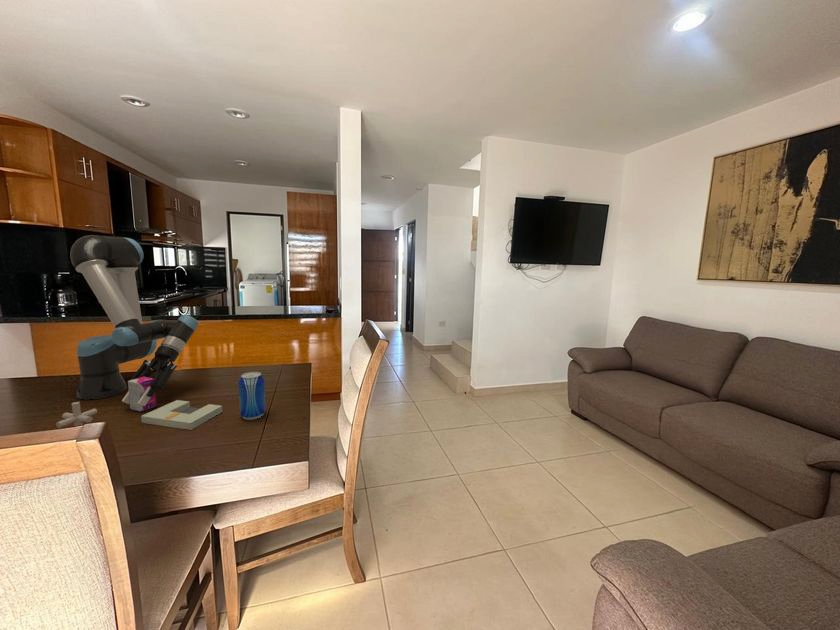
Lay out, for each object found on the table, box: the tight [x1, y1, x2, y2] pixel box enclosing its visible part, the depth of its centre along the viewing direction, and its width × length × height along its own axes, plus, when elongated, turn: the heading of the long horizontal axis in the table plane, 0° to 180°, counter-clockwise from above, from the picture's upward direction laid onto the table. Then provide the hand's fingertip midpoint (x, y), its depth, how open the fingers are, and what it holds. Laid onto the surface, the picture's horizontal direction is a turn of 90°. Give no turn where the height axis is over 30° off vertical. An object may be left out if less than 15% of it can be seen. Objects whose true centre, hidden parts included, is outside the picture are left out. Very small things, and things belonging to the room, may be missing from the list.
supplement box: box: [127, 377, 157, 413], centre depth 126 cm, size 6×6×12 cm
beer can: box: [238, 371, 266, 421], centre depth 123 cm, size 8×8×16 cm
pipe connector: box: [55, 401, 98, 429], centre depth 108 cm, size 10×10×10 cm
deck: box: [140, 399, 223, 431], centre depth 121 cm, size 14×20×3 cm
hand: (133, 403), depth 123 cm, fingers closed on supplement box, 6 cm apart
